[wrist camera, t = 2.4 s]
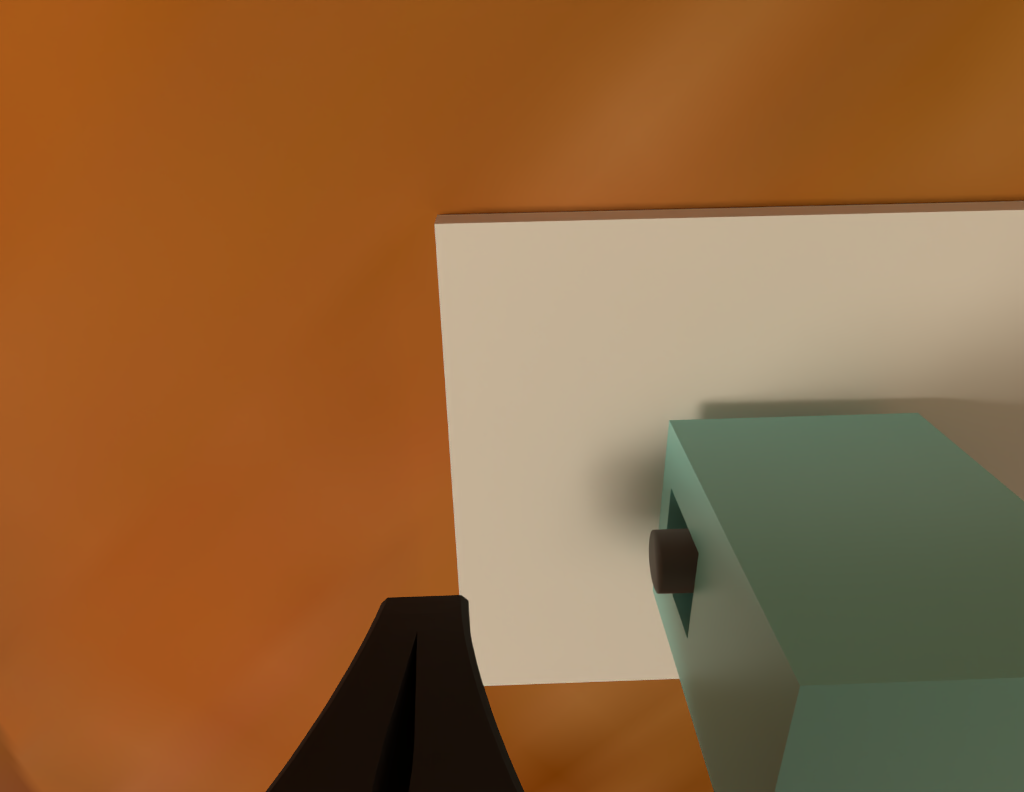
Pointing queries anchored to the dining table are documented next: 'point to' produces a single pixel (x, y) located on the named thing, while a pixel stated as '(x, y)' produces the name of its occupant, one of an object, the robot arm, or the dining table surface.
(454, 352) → the rod stand
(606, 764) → the dining table surface
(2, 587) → the dining table surface
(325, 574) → the dining table surface
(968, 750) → the sleeve
